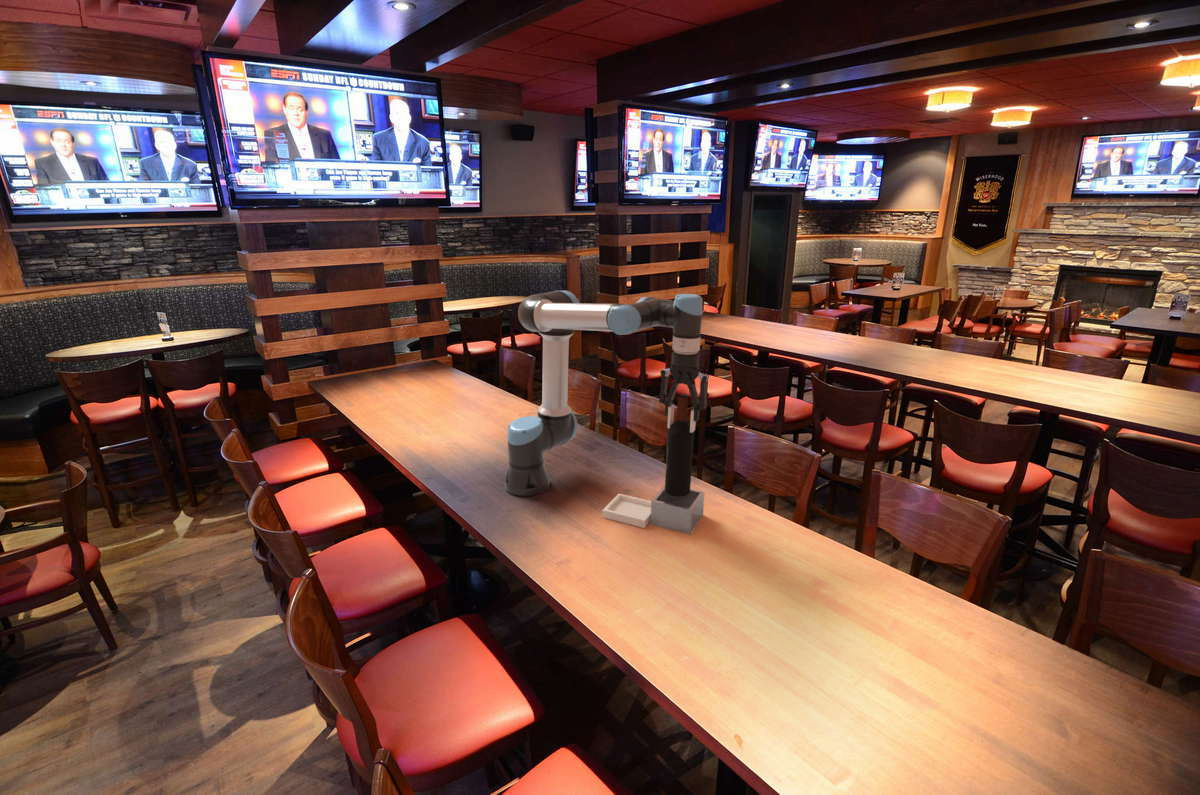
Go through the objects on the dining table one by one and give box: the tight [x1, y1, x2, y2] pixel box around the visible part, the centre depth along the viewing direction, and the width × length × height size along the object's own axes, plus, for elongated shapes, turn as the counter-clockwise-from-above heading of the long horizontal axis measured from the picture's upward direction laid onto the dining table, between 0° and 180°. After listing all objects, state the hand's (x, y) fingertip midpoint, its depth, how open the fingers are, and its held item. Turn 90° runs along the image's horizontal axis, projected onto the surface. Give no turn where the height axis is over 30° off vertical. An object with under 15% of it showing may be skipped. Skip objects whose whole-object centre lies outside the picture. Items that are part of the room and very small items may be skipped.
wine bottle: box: [664, 394, 695, 497], centre depth 168 cm, size 8×8×30 cm
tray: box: [601, 493, 651, 529], centre depth 179 cm, size 14×12×2 cm
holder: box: [649, 484, 705, 535], centre depth 175 cm, size 12×12×8 cm
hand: (681, 428), depth 167 cm, fingers closed on wine bottle, 6 cm apart
